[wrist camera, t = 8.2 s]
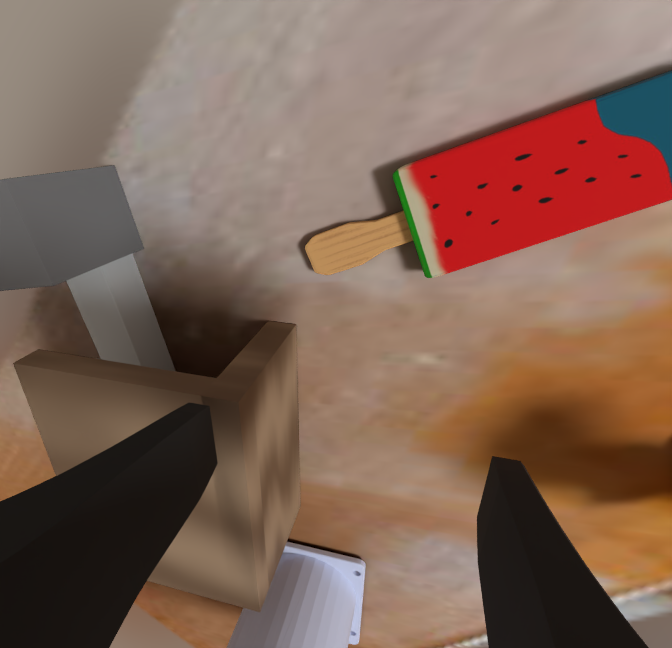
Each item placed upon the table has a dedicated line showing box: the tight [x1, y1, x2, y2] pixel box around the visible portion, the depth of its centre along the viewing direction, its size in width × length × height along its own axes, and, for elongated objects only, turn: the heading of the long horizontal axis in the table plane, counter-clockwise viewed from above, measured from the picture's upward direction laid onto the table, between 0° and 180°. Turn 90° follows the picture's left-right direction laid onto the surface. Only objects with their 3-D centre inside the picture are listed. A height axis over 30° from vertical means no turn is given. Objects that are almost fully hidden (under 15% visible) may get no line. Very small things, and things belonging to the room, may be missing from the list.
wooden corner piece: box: [13, 321, 301, 612], centre depth 22 cm, size 13×10×7 cm
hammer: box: [0, 165, 175, 371], centre depth 21 cm, size 18×4×6 cm, turn 9°
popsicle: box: [305, 70, 672, 278], centre depth 16 cm, size 5×2×15 cm
